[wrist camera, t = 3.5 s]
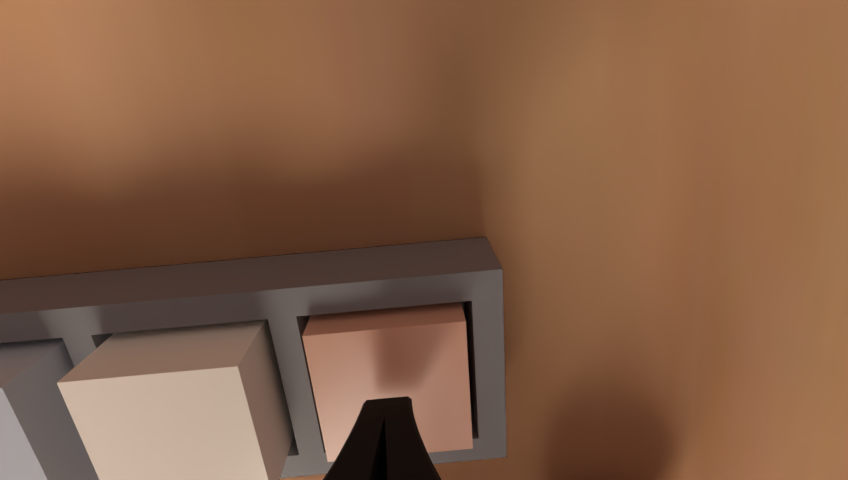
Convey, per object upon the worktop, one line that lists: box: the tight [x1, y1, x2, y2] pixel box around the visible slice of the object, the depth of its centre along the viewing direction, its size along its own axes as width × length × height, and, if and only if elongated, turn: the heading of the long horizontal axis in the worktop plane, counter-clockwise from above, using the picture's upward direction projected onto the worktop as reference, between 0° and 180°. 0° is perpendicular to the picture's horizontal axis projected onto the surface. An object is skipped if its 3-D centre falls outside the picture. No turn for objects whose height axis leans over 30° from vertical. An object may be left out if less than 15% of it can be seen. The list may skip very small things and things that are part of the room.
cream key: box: [57, 319, 294, 480], centre depth 14 cm, size 5×5×3 cm
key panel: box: [0, 237, 507, 480], centre depth 16 cm, size 21×8×3 cm, turn 95°
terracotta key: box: [302, 302, 473, 462], centre depth 16 cm, size 5×5×3 cm
